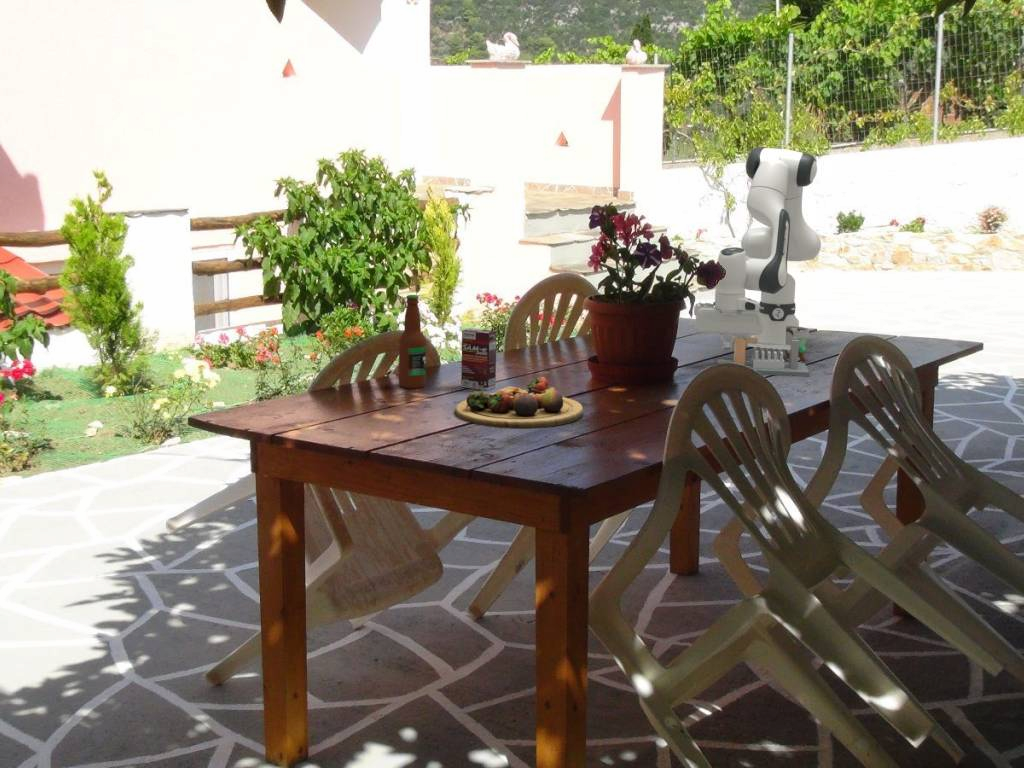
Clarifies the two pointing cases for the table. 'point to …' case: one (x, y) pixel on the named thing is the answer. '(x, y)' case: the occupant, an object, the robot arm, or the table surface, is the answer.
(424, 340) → the bottle
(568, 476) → the table surface
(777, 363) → the heat sink
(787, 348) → the light grey flat bar
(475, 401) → the wooden plate with food
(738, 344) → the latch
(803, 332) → the food container
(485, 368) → the supplement box
